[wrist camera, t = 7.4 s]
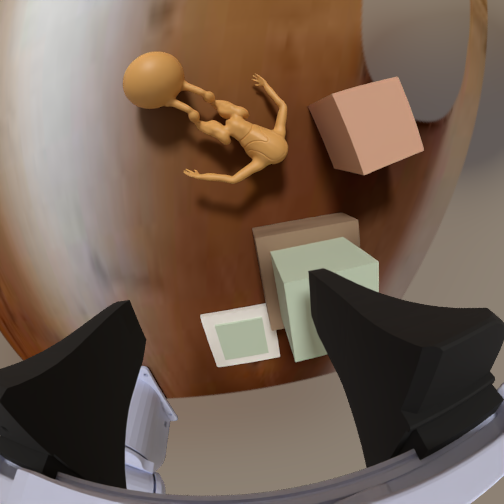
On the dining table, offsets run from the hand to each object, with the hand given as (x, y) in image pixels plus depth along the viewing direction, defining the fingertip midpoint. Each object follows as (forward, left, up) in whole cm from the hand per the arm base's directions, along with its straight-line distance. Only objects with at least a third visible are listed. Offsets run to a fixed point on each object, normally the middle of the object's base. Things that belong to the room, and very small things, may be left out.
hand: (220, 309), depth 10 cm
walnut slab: (-4, -6, -10) cm, 12 cm away
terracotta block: (+6, -11, -10) cm, 16 cm away
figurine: (+13, +3, -7) cm, 15 cm away
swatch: (-10, 0, -10) cm, 14 cm away
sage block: (-3, -5, -7) cm, 10 cm away
